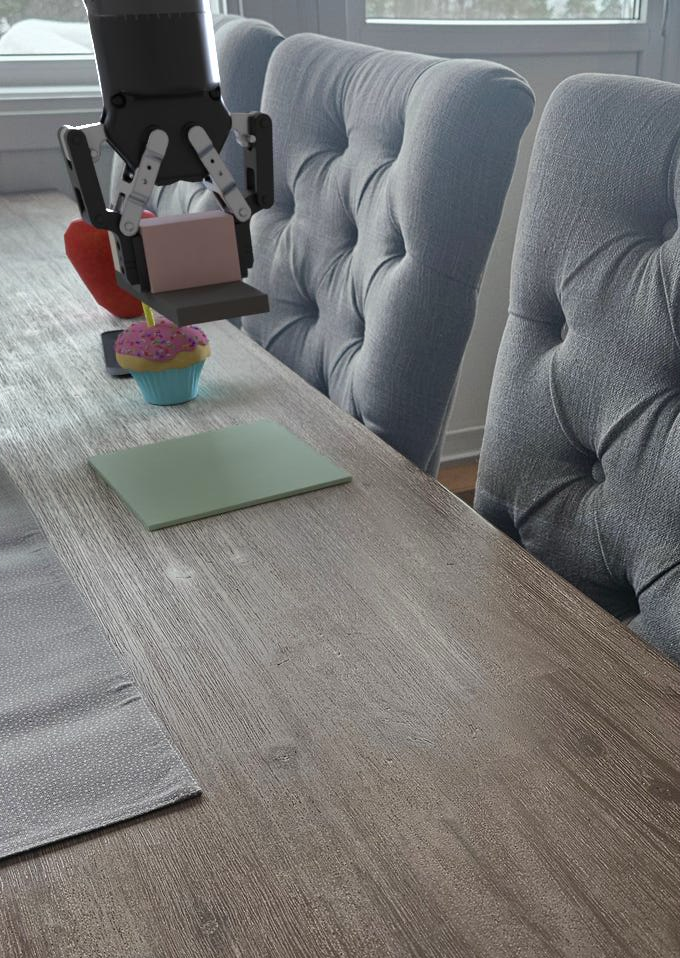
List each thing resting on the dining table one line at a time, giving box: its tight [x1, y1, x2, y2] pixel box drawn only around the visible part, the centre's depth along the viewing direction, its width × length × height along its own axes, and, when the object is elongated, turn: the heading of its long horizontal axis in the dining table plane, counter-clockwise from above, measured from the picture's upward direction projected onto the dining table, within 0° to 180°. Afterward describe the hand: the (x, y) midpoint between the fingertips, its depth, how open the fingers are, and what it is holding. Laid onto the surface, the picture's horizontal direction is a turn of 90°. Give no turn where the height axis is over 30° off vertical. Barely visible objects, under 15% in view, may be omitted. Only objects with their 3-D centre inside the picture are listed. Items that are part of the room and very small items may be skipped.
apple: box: [63, 202, 157, 318], centre depth 127 cm, size 11×11×12 cm
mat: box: [86, 417, 353, 532], centre depth 89 cm, size 16×16×1 cm
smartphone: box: [99, 328, 131, 376], centre depth 116 cm, size 8×1×15 cm
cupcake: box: [114, 302, 212, 406], centre depth 101 cm, size 9×8×12 cm
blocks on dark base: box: [108, 209, 271, 327], centre depth 78 cm, size 14×6×6 cm, turn 32°
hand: (191, 282), depth 79 cm, fingers closed on blocks on dark base, 6 cm apart
